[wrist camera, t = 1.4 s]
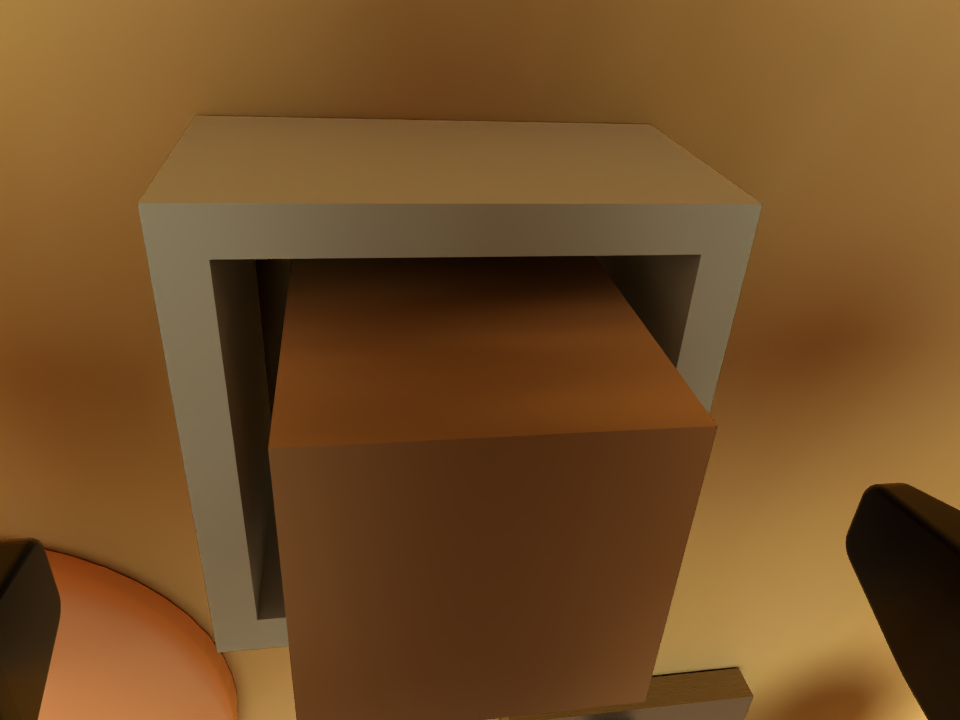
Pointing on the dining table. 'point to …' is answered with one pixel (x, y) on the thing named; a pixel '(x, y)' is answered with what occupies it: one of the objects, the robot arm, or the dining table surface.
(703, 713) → the balance
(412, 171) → the collar
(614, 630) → the block
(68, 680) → the dish
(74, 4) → the dining table surface
